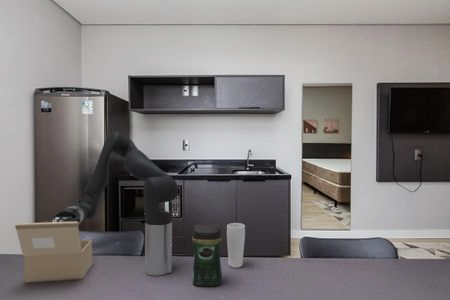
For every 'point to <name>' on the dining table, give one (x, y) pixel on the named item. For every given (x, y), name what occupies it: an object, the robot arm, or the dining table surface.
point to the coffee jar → (207, 255)
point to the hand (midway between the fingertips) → (49, 230)
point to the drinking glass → (235, 244)
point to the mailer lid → (49, 238)
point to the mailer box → (58, 265)
